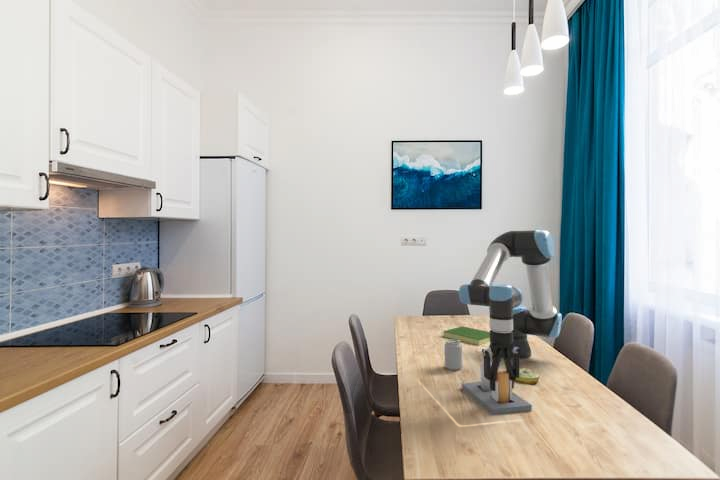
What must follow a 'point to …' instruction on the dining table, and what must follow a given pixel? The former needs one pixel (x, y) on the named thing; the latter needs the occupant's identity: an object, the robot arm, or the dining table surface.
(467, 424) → the dining table surface
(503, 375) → the tan tapered peg
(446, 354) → the can
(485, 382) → the white rounded peg
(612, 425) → the dining table surface
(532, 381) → the decorated donut
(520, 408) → the housing
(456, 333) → the hardcover book
